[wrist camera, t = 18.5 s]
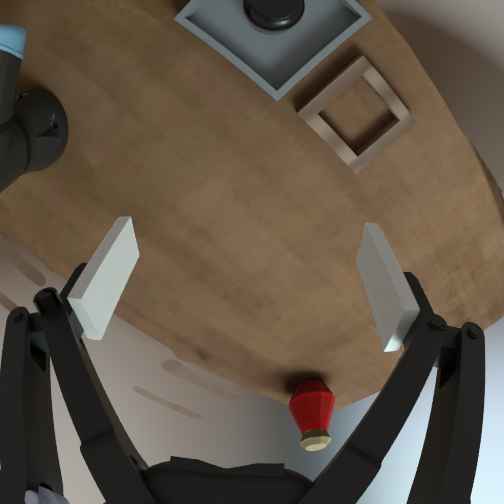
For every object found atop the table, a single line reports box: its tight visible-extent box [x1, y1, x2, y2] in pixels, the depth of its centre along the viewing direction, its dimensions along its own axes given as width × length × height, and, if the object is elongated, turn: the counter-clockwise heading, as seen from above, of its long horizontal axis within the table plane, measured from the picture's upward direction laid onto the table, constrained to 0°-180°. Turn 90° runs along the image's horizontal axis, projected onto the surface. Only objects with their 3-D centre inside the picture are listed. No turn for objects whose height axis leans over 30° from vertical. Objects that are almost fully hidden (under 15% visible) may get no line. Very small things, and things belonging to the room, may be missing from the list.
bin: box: [174, 0, 372, 101], centre depth 32 cm, size 18×18×4 cm
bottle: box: [289, 379, 335, 451], centre depth 78 cm, size 16×14×20 cm
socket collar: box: [296, 55, 416, 174], centre depth 41 cm, size 13×13×2 cm
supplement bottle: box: [243, 0, 305, 35], centre depth 28 cm, size 7×7×12 cm
